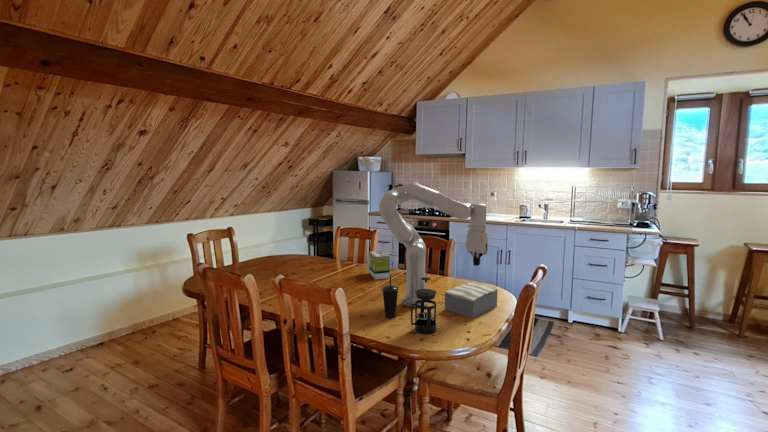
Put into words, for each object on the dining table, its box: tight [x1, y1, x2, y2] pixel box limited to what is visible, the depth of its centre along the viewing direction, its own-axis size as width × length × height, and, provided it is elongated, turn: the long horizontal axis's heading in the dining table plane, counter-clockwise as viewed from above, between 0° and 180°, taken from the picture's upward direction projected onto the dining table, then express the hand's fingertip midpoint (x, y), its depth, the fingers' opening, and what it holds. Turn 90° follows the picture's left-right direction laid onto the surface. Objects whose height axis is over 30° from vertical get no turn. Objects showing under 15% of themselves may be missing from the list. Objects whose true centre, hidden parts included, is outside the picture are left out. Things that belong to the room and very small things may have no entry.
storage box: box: [444, 291, 498, 319], centre depth 203 cm, size 22×16×8 cm
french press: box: [410, 276, 437, 335], centre depth 175 cm, size 12×9×23 cm
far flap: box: [458, 282, 498, 295], centre depth 206 cm, size 11×16×1 cm
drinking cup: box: [381, 274, 399, 319], centre depth 191 cm, size 8×8×20 cm
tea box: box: [368, 250, 391, 280], centre depth 259 cm, size 15×10×15 cm, turn 17°
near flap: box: [444, 285, 486, 301], centre depth 198 cm, size 11×16×1 cm
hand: (476, 265), depth 203 cm, fingers closed
